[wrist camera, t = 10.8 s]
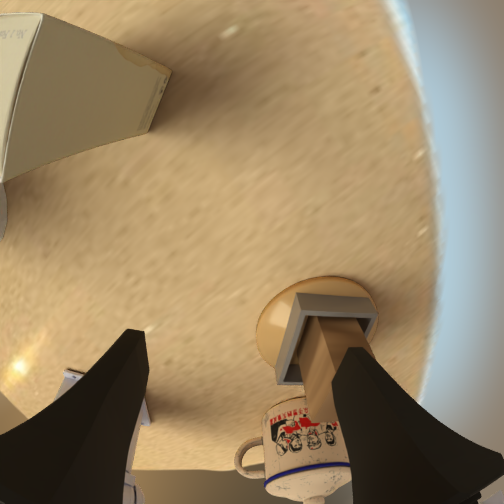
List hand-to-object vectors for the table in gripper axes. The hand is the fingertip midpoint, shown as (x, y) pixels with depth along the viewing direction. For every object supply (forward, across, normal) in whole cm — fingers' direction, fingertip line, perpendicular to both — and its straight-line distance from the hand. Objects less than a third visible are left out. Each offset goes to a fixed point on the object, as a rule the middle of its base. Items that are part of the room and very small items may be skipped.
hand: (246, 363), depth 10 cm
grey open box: (+10, -7, +7) cm, 14 cm away
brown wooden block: (+10, -7, +6) cm, 13 cm away
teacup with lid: (+11, -8, +21) cm, 25 cm away
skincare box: (+11, +9, -9) cm, 17 cm away
